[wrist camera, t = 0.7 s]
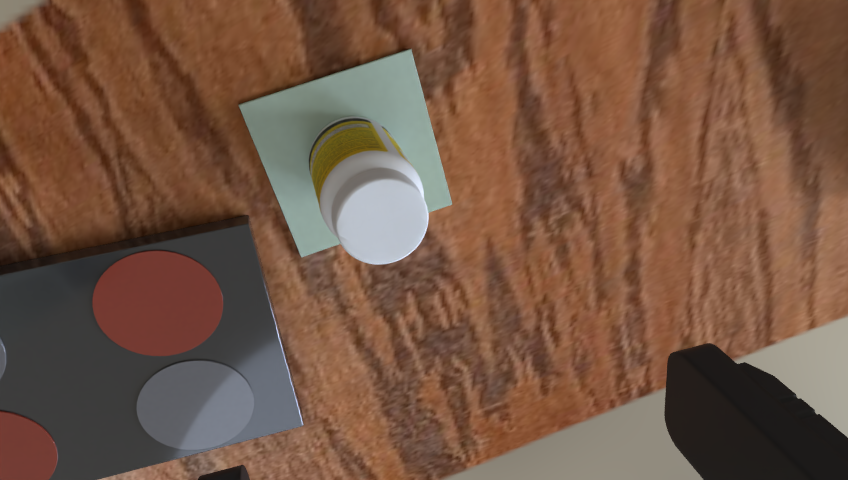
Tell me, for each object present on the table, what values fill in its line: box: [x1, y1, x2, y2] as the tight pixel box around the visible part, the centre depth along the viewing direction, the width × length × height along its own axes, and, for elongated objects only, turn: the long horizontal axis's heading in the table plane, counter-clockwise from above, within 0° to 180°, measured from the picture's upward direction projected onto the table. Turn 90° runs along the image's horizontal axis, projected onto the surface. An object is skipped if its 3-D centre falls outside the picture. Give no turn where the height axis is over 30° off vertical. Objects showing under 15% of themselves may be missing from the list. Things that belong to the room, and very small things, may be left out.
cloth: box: [239, 49, 452, 257], centre depth 34 cm, size 9×9×1 cm
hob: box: [0, 215, 304, 480], centre depth 35 cm, size 14×22×1 cm, turn 97°
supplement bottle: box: [309, 116, 428, 264], centre depth 31 cm, size 5×5×8 cm
